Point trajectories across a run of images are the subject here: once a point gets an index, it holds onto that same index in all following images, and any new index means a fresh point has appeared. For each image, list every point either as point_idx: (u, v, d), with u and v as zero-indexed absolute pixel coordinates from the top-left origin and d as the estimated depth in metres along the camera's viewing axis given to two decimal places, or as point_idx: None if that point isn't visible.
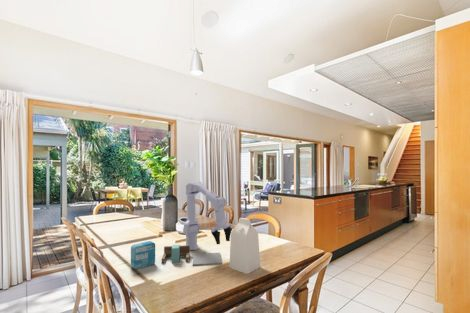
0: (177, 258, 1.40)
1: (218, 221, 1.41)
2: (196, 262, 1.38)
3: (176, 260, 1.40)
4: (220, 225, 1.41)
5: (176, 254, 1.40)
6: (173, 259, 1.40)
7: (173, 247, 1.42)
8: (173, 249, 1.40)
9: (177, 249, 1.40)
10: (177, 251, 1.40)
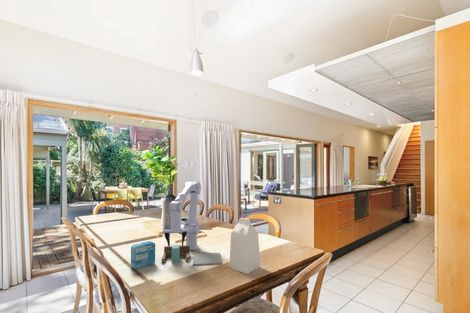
0: (177, 258, 1.40)
1: (171, 224, 1.42)
2: (196, 262, 1.38)
3: (176, 260, 1.40)
4: (171, 229, 1.41)
5: (176, 254, 1.40)
6: (173, 259, 1.40)
7: (173, 247, 1.42)
8: (173, 249, 1.40)
9: (177, 249, 1.40)
10: (177, 251, 1.40)
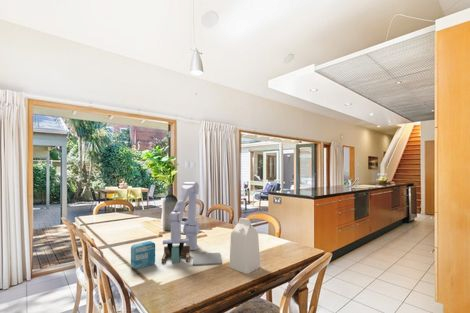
0: (177, 258, 1.40)
1: None
2: (196, 262, 1.38)
3: (176, 260, 1.40)
4: (171, 239, 1.41)
5: (176, 254, 1.40)
6: (173, 259, 1.40)
7: (173, 247, 1.42)
8: (173, 249, 1.40)
9: (177, 249, 1.40)
10: (177, 251, 1.40)
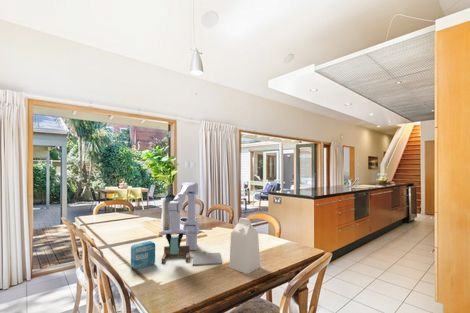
0: (176, 249, 1.34)
1: None
2: (196, 262, 1.38)
3: (175, 251, 1.34)
4: (170, 230, 1.36)
5: (175, 246, 1.34)
6: (172, 250, 1.34)
7: (172, 238, 1.36)
8: (172, 240, 1.34)
9: (176, 240, 1.35)
10: (176, 242, 1.35)
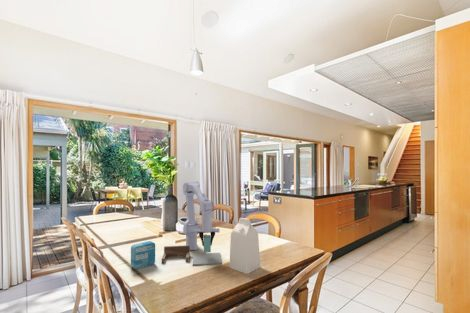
0: (209, 248, 1.42)
1: (202, 224, 1.44)
2: (196, 262, 1.38)
3: (208, 250, 1.42)
4: (203, 228, 1.43)
5: (208, 244, 1.42)
6: (205, 249, 1.42)
7: (205, 237, 1.43)
8: (205, 239, 1.42)
9: (209, 239, 1.42)
10: (209, 241, 1.42)
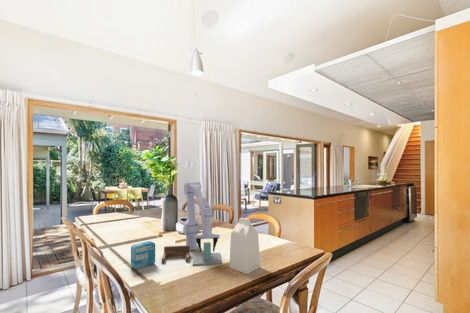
0: (209, 255, 1.42)
1: (202, 230, 1.43)
2: (196, 262, 1.38)
3: (208, 257, 1.42)
4: (203, 235, 1.43)
5: (208, 252, 1.42)
6: (205, 256, 1.41)
7: (205, 244, 1.43)
8: (205, 247, 1.42)
9: (209, 246, 1.42)
10: (209, 248, 1.42)
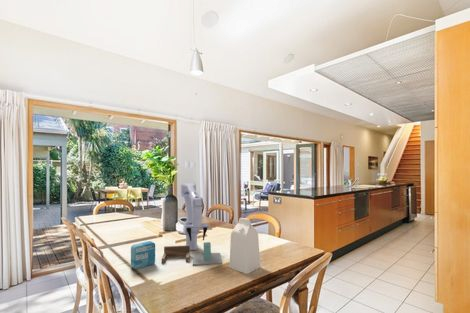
0: (209, 255, 1.42)
1: (192, 220, 1.50)
2: (196, 262, 1.38)
3: (208, 257, 1.42)
4: (193, 224, 1.49)
5: (208, 252, 1.42)
6: (205, 256, 1.41)
7: (205, 244, 1.43)
8: (205, 247, 1.42)
9: (209, 246, 1.42)
10: (209, 248, 1.42)
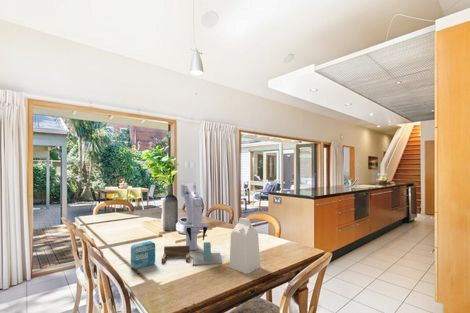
0: (209, 255, 1.42)
1: (192, 220, 1.50)
2: (196, 262, 1.38)
3: (208, 257, 1.42)
4: (193, 224, 1.49)
5: (208, 252, 1.42)
6: (205, 256, 1.41)
7: (205, 244, 1.43)
8: (205, 247, 1.42)
9: (209, 246, 1.42)
10: (209, 248, 1.42)
